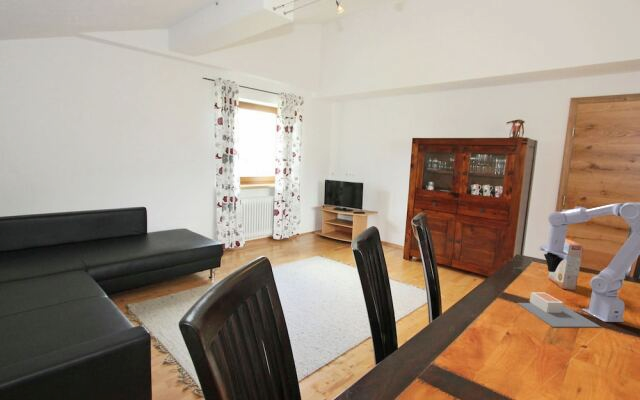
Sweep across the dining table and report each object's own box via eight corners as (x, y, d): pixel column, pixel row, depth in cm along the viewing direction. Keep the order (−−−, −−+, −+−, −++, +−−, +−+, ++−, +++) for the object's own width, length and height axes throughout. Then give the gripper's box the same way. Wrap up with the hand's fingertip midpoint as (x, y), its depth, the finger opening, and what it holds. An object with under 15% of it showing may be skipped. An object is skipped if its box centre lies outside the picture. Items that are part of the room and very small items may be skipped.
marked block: (543, 302, 135) (561, 312, 126) (529, 301, 134) (546, 312, 125) (545, 292, 134) (563, 302, 125) (531, 292, 134) (548, 302, 125)
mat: (600, 327, 117) (600, 326, 117) (552, 327, 115) (552, 326, 115) (559, 304, 134) (559, 303, 134) (517, 303, 133) (517, 302, 133)
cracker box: (576, 291, 150) (584, 245, 147) (561, 289, 151) (568, 244, 148) (561, 279, 163) (567, 237, 160) (547, 278, 164) (553, 236, 161)
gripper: (534, 235, 147) (530, 265, 149) (561, 244, 132) (556, 277, 134) (549, 236, 148) (545, 265, 149) (578, 245, 133) (572, 277, 135)
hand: (551, 271), depth 142 cm, fingers closed
